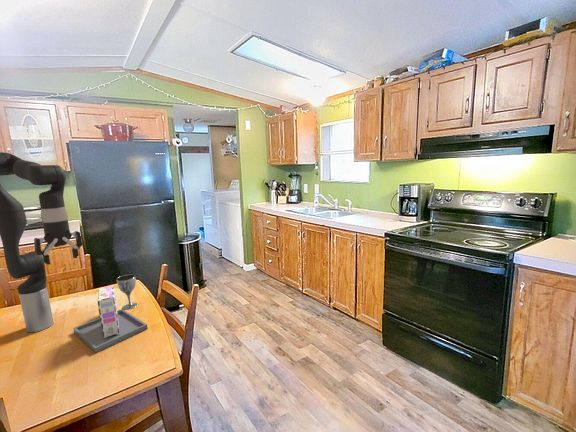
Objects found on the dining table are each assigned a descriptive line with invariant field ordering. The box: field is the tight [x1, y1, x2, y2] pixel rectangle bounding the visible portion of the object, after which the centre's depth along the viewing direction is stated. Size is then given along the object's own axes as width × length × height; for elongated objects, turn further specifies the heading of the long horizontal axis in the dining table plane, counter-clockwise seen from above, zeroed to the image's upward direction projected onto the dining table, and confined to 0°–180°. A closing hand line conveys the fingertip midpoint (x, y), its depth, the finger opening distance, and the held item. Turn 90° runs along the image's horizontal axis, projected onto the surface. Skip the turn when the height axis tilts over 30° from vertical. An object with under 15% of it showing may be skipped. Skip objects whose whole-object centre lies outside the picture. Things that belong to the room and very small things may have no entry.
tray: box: [72, 308, 148, 354], centre depth 124 cm, size 24×20×2 cm
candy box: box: [97, 285, 120, 338], centre depth 123 cm, size 14×6×16 cm, turn 31°
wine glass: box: [116, 273, 138, 311], centre depth 144 cm, size 8×8×15 cm
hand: (62, 261), depth 113 cm, fingers open, 8 cm apart
